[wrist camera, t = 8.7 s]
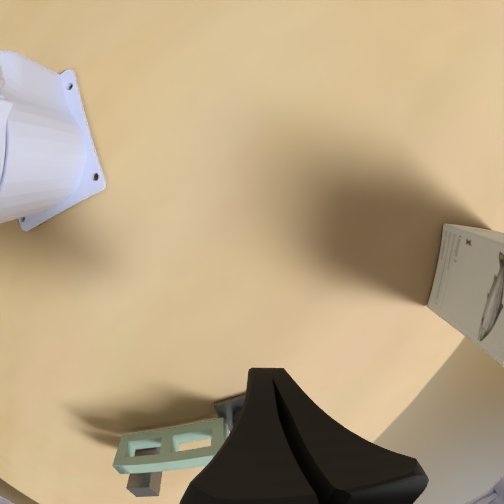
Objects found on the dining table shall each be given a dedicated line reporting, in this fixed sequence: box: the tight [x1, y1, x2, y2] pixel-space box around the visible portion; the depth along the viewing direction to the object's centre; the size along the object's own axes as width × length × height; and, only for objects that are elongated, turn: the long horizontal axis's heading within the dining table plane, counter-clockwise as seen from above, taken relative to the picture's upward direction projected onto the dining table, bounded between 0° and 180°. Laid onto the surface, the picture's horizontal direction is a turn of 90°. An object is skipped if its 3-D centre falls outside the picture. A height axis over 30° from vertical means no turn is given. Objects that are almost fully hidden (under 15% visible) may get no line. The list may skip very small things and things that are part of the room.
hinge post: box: [214, 394, 246, 432], centre depth 21 cm, size 4×4×6 cm
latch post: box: [127, 447, 162, 497], centre depth 21 cm, size 3×4×6 cm
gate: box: [113, 417, 229, 474], centre depth 20 cm, size 10×1×4 cm, turn 108°
